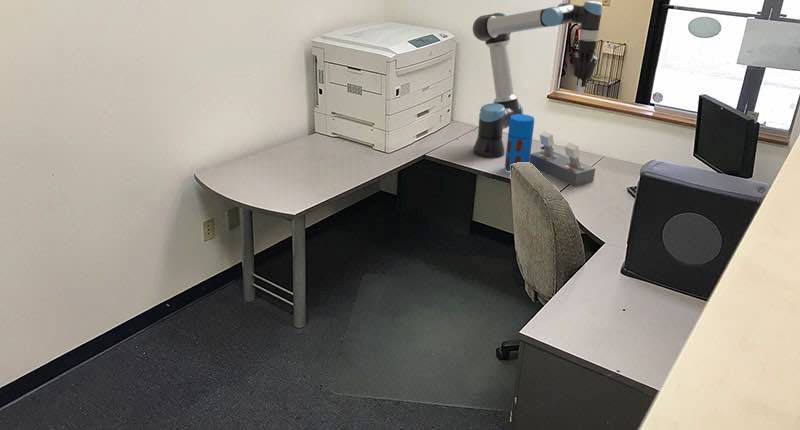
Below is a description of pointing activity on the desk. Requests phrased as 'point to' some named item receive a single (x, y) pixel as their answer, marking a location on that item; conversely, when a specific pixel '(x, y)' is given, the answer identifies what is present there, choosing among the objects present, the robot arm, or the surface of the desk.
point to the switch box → (562, 168)
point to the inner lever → (547, 142)
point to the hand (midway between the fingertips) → (579, 93)
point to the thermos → (519, 139)
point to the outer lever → (573, 154)
